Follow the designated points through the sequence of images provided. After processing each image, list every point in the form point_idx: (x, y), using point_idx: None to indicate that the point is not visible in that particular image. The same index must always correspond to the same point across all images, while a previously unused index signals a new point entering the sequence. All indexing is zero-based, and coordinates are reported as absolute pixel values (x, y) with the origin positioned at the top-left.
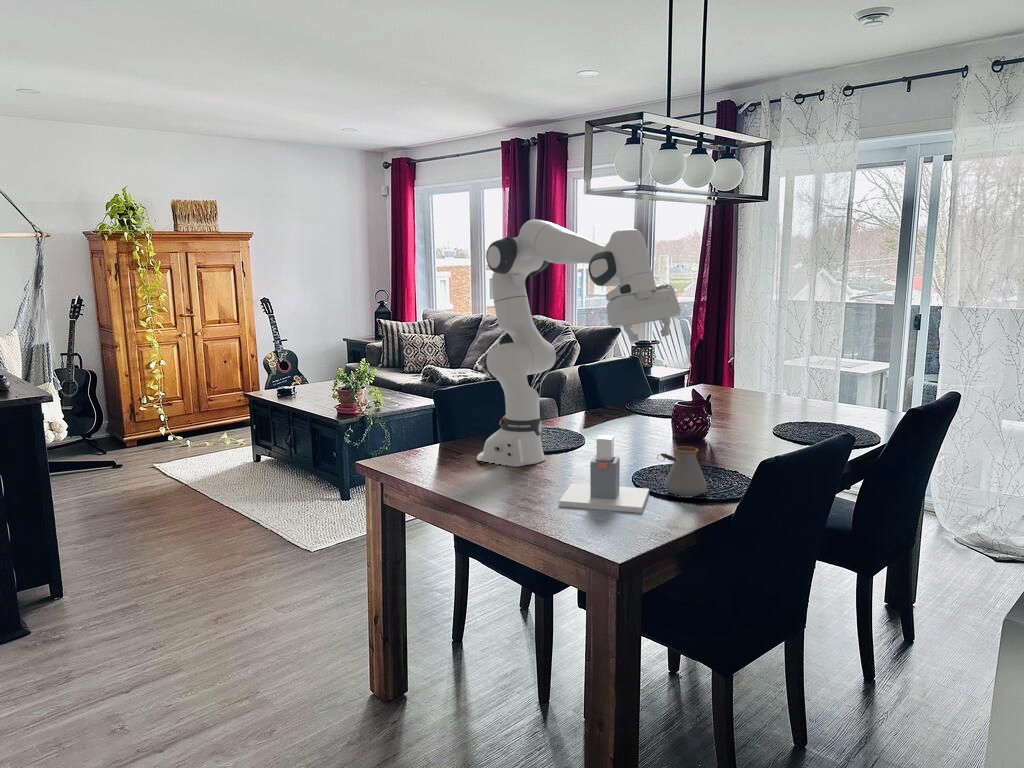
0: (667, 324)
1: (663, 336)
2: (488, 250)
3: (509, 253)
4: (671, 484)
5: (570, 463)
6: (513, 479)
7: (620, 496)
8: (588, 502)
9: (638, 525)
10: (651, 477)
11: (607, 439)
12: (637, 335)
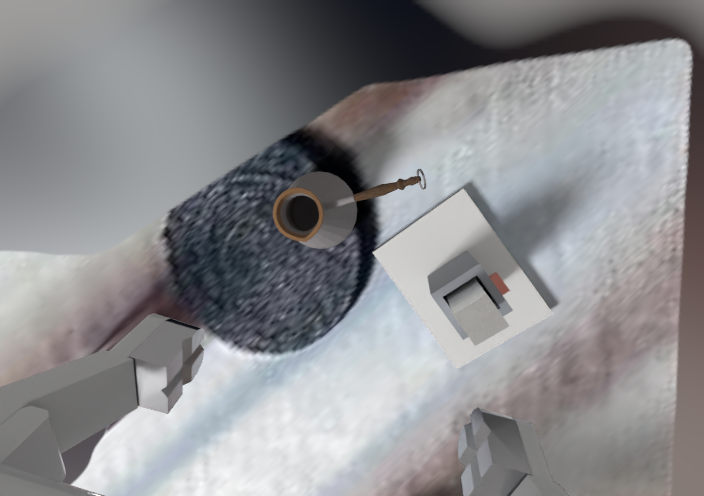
0: (72, 382)
1: (198, 348)
2: None
3: None
4: (353, 214)
5: (352, 462)
6: None
7: (446, 256)
8: (517, 271)
9: (516, 148)
10: (301, 309)
11: (492, 302)
12: (493, 446)
